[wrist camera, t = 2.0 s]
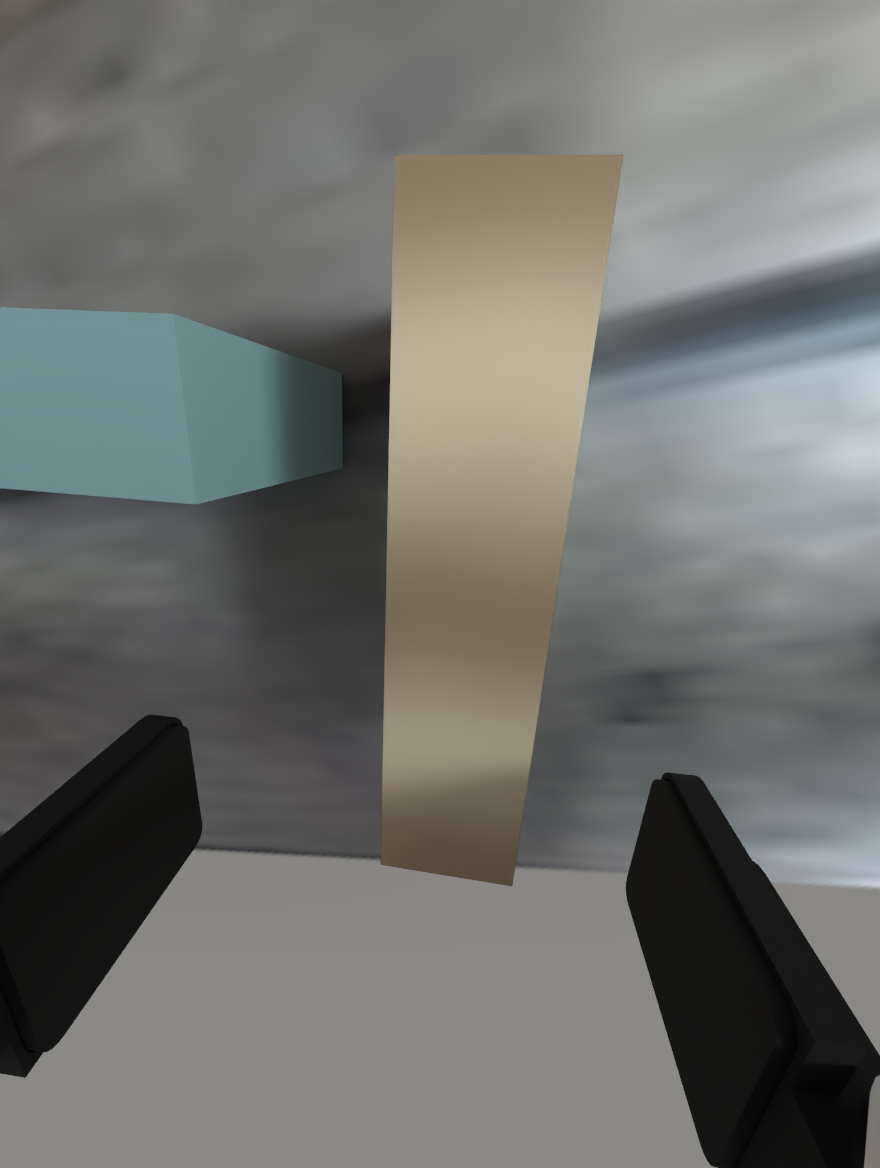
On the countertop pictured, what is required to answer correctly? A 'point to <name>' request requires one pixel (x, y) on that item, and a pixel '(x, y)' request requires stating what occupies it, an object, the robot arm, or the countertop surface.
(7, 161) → the countertop surface
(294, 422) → the light blue block
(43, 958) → the robot arm
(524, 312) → the beige flat block
